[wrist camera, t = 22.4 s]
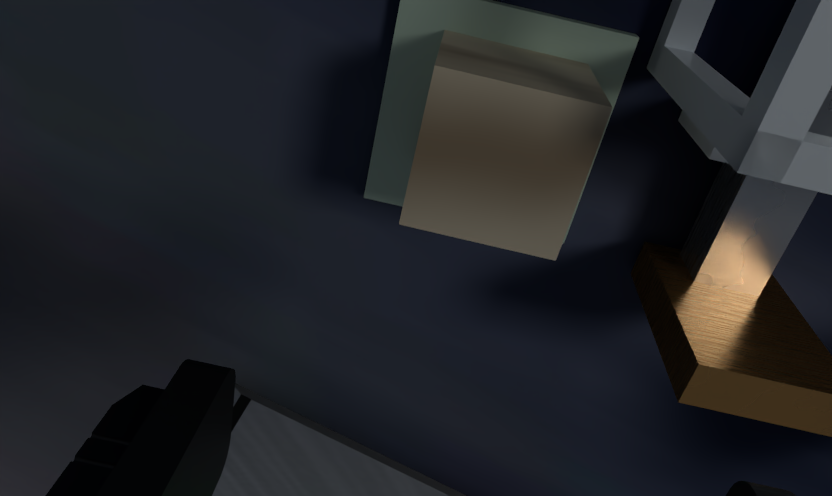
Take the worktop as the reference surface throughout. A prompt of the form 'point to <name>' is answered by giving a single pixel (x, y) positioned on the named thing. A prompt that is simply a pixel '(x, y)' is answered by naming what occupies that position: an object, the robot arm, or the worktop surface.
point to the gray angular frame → (754, 96)
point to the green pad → (483, 18)
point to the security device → (307, 458)
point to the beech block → (504, 145)
